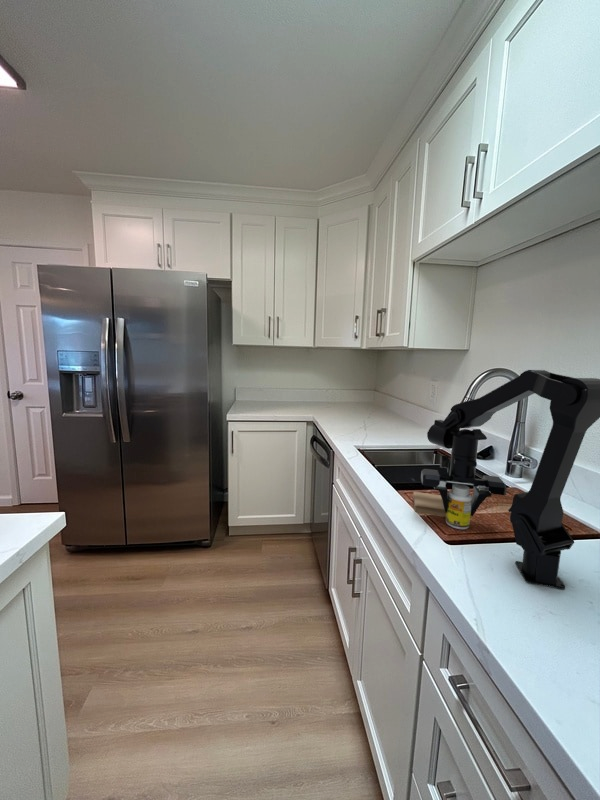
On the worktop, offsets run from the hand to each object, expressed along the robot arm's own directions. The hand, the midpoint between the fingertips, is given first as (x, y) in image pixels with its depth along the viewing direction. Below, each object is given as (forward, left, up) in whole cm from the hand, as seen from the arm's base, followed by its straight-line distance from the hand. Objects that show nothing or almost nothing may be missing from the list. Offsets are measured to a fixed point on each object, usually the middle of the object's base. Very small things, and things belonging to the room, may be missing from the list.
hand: (458, 513), depth 85 cm
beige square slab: (+9, +5, -3) cm, 11 cm away
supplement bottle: (0, 0, -3) cm, 3 cm away
